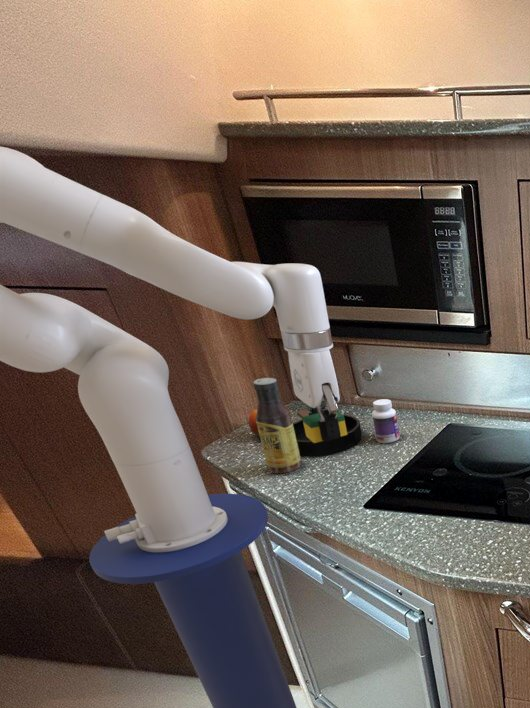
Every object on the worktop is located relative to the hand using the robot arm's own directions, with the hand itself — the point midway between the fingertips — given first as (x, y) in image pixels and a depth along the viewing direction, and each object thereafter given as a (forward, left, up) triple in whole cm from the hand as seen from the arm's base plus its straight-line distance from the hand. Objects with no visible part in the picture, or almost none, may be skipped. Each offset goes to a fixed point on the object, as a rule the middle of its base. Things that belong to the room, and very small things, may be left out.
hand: (326, 434), depth 95 cm
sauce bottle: (-4, +17, -13) cm, 22 cm away
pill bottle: (+18, +16, -13) cm, 27 cm away
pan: (+7, +28, -13) cm, 31 cm away
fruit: (-1, +37, -13) cm, 39 cm away
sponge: (0, 0, 0) cm, 0 cm away
